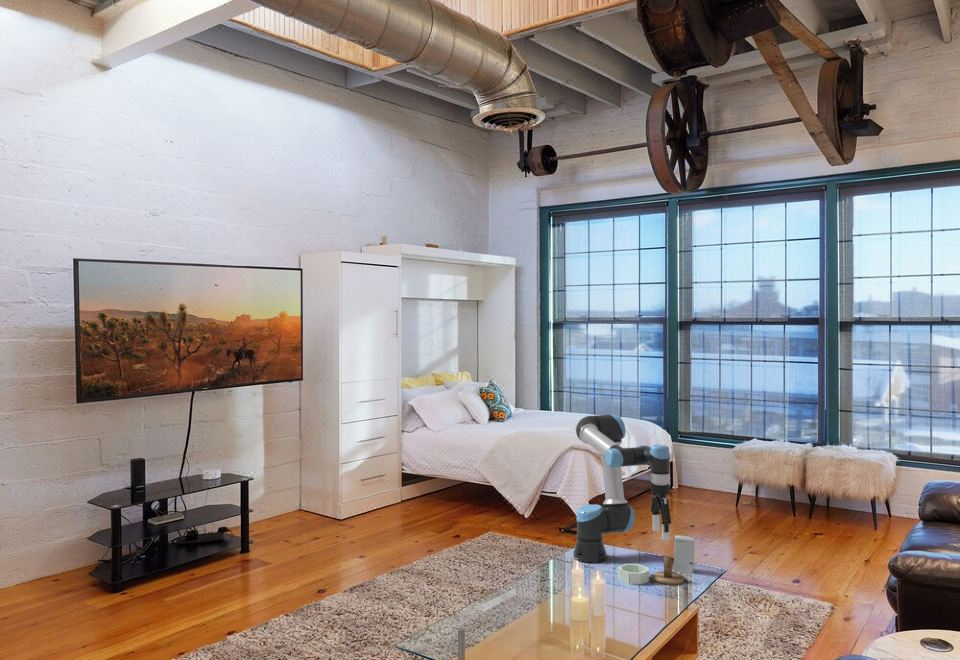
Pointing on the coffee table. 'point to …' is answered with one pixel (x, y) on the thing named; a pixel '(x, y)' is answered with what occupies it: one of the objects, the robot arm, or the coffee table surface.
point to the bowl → (633, 573)
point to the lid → (667, 574)
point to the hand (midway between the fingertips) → (660, 535)
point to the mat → (663, 584)
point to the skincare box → (684, 554)
